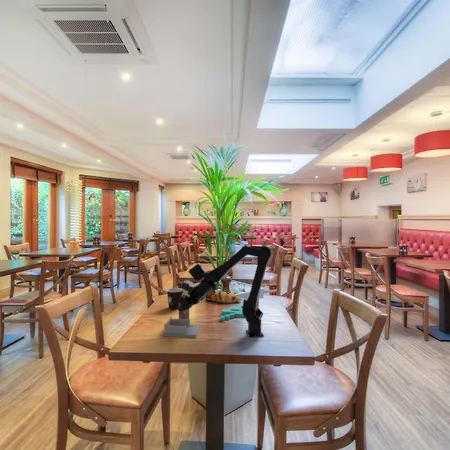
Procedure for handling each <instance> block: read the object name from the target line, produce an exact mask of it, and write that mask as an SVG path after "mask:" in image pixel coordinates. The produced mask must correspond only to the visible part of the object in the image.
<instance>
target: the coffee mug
mask: <svg viewBox="0 0 450 450" xmlns="http://www.w3.org/2000/svg"><path fill="white" fill-rule="evenodd" d="M183 290H184V289H182V288H181V287H180V288H178V287H174V288H173V287H172V288H168V289H167V290H166V292H167V293H166V295H167V303H168V309H169V310H173V311H174V310H175V311H176V310H178V309H179V301H178V299H179V298H180V297H182V296H184V295H185V294H183V292H184V291H183Z"/></svg>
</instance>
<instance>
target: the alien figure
mask: <svg viewBox="0 0 450 450" xmlns="http://www.w3.org/2000/svg"><path fill="white" fill-rule="evenodd" d="M242 306H243V305H236V306H232V307H227V308H223V309H222V310H221V315H220V317H219V321H220V322H225V321H226V320H228V321H230V320H231V319H235V318H246V317H245V316H244V315H243V313H242V309H243V308H242ZM241 308H242V309H241Z"/></svg>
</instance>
